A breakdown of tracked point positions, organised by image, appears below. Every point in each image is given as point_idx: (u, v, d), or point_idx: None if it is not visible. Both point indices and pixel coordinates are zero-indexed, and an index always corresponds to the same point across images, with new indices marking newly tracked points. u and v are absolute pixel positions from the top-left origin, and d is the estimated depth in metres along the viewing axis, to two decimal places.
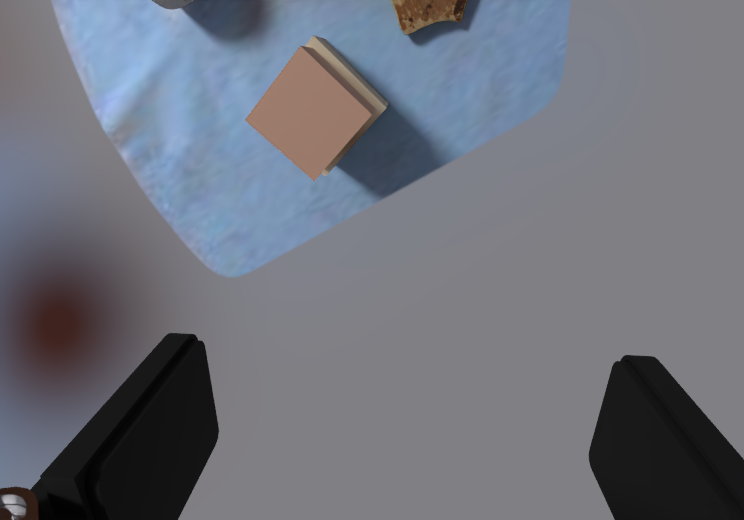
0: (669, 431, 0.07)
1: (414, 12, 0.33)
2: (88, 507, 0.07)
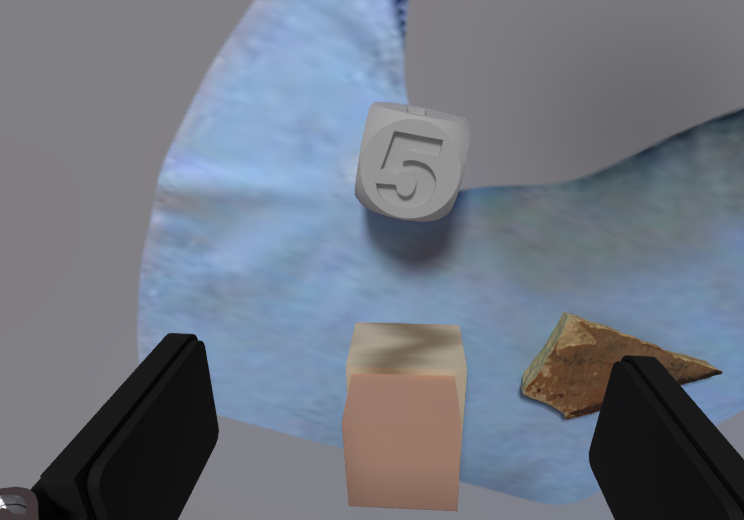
0: (669, 431, 0.07)
1: (546, 389, 0.30)
2: (88, 507, 0.07)
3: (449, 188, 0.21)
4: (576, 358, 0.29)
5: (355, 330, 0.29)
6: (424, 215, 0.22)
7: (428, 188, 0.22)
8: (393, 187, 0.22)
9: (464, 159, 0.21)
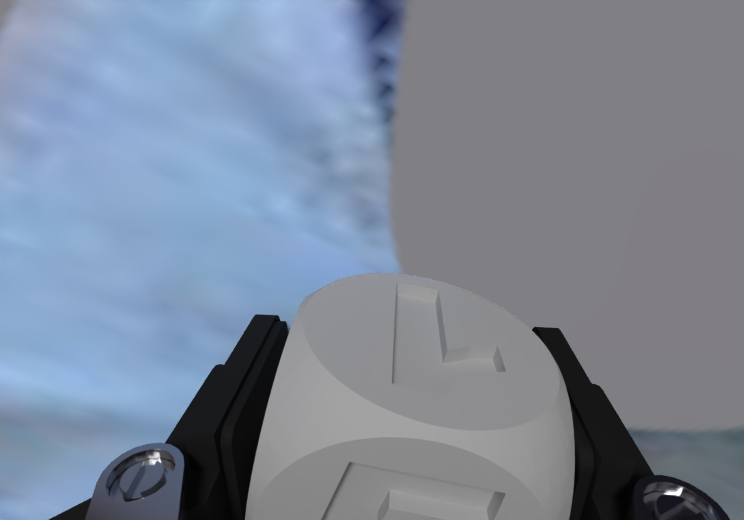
0: None
1: None
2: (220, 462, 0.07)
3: None
4: None
5: None
6: None
7: None
8: None
9: None
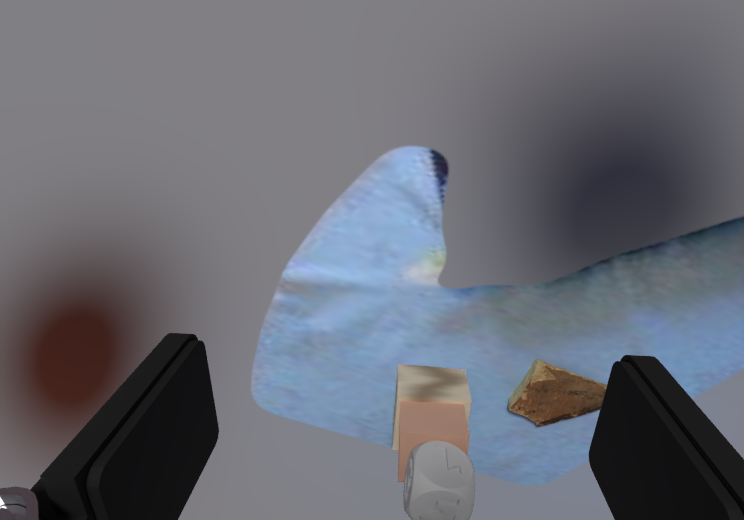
0: (669, 431, 0.07)
1: (524, 407, 0.46)
2: (88, 507, 0.07)
3: (463, 519, 0.35)
4: (543, 388, 0.45)
5: (399, 370, 0.46)
6: None
7: (450, 516, 0.36)
8: None
9: (472, 505, 0.35)
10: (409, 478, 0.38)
